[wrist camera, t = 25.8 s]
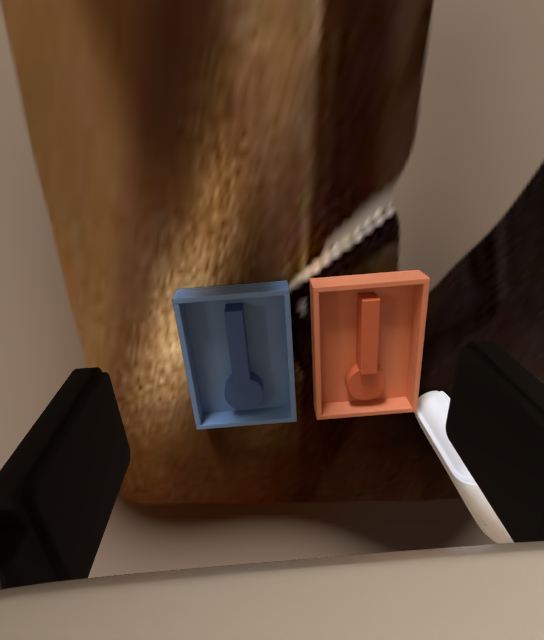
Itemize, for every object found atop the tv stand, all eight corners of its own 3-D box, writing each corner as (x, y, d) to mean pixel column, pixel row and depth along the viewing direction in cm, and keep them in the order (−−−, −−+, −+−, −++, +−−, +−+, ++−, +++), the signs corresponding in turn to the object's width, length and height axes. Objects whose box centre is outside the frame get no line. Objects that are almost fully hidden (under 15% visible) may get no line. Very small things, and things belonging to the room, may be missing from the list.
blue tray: (177, 288, 36) (171, 298, 33) (287, 280, 36) (289, 289, 33) (199, 414, 41) (196, 429, 39) (294, 406, 41) (296, 421, 39)
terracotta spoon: (344, 293, 36) (349, 301, 34) (386, 290, 36) (393, 298, 34) (344, 394, 40) (348, 405, 39) (381, 391, 40) (387, 402, 39)
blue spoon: (213, 304, 36) (210, 313, 34) (254, 301, 36) (254, 309, 34) (227, 403, 40) (226, 415, 39) (264, 400, 40) (265, 412, 39)
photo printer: (476, 446, 45) (551, 548, 33) (441, 462, 45) (502, 567, 34) (442, 381, 41) (514, 473, 30) (405, 401, 42) (460, 496, 30)
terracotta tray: (309, 278, 36) (313, 287, 33) (419, 269, 36) (430, 278, 33) (313, 404, 41) (316, 420, 39) (408, 397, 41) (417, 411, 39)
